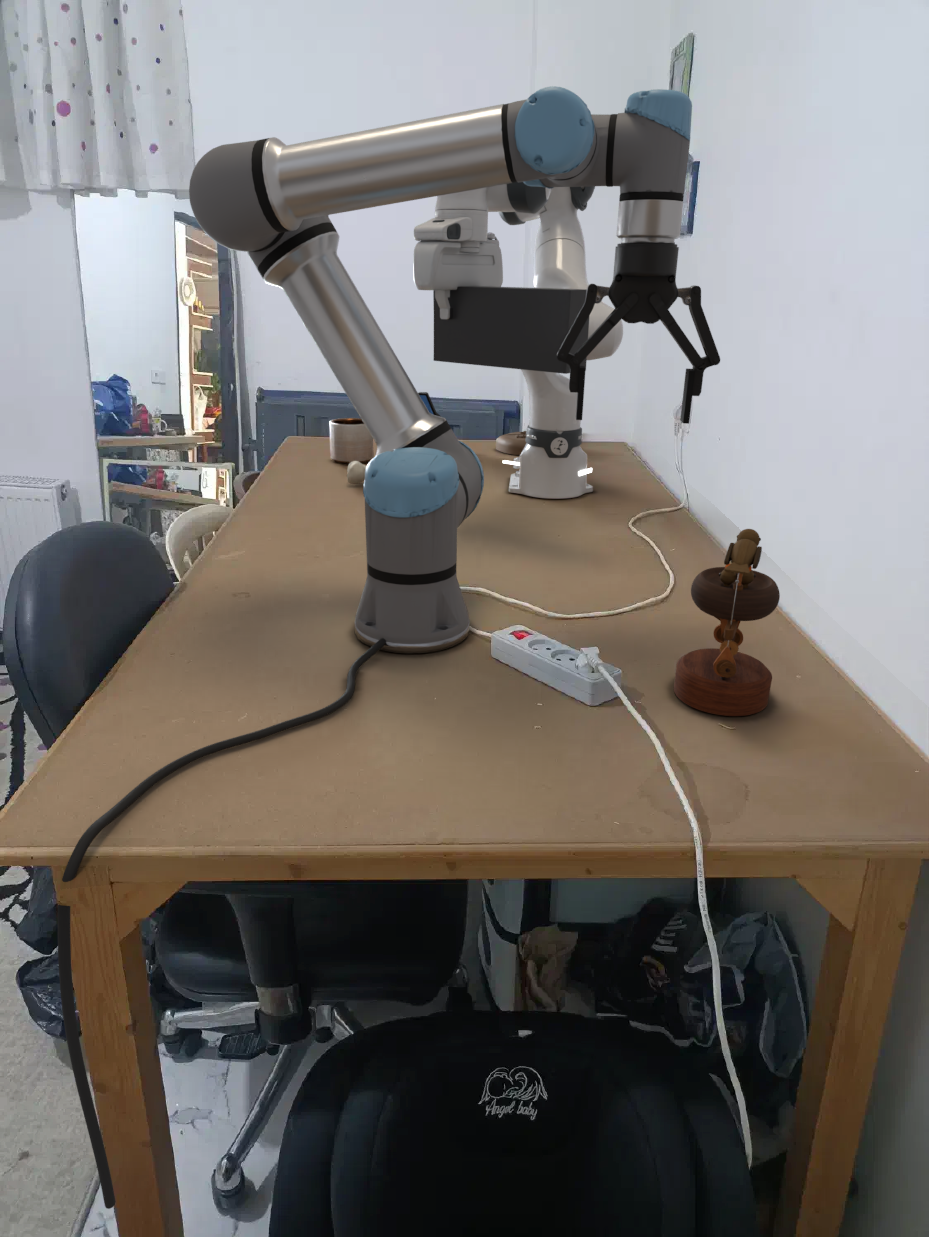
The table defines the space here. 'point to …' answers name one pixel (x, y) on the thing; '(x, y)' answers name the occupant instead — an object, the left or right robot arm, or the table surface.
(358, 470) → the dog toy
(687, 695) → the music box
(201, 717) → the table surface
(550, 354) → the box
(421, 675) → the table surface
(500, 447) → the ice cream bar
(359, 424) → the planter
